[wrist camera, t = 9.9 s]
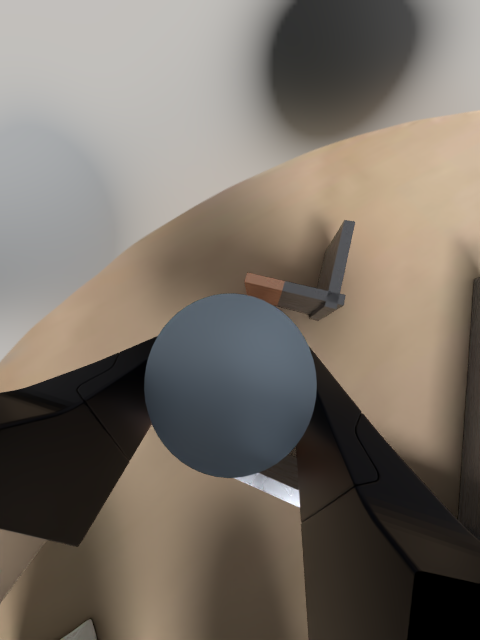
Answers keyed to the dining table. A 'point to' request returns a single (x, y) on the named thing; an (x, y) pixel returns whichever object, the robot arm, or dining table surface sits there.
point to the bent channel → (282, 478)
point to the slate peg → (230, 385)
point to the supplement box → (82, 632)
